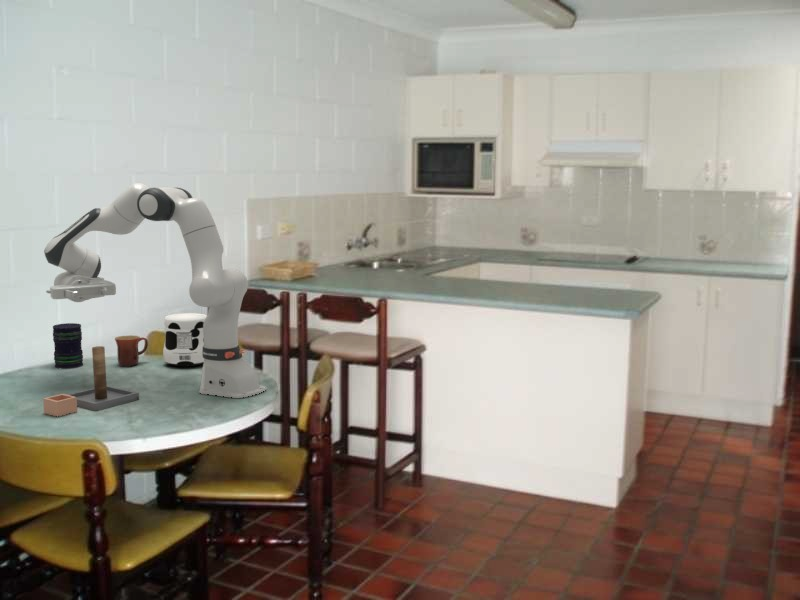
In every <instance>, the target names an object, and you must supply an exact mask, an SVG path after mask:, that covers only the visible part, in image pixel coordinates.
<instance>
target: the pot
mask: <svg viewBox="0 0 800 600" xmlns="http://www.w3.org/2000/svg"><path fill="white" fill-rule="evenodd" d="M42 401H43V402H42V403H43V414H45V415H48V416H49V415H50V416H52V415H53V417H56V416H57V418H58V416H59V417H62V415H63V416H66V414H67V415H70V414H69V413H71V414H74V412H75V413H78V406H77V397H74V396H70V395H67V394H66V393H61V394H56V395H52V396H48V397H45V398H44V397H43V398H42Z"/></svg>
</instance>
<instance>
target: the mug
mask: <svg viewBox="0 0 800 600" xmlns="http://www.w3.org/2000/svg"><path fill="white" fill-rule="evenodd" d="M142 340H144V347H143V348H142V350H140V351H139V343H140V342H141V341H142ZM114 341H115V343H116V346H117V356H116V357H117V364H118V365H119V366H120V367H124V366H129V367H135V366H137V365H138V364H139V358H140V356H141V355H142V354H144V353H146V351H147V349H148V346H149V341H148V339H147V338H146V337H140V336H139V335H120V336H119V335H118V336H116V337H114ZM134 365H135V366H134Z"/></svg>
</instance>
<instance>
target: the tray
mask: <svg viewBox="0 0 800 600" xmlns="http://www.w3.org/2000/svg"><path fill="white" fill-rule="evenodd" d="M66 395H70V396H74V397H77V408H78V407H79V408H83V409H86V410H91V411H95V412H96V411H101V410H104V409H108V408H112V407H115V406H119V405H123V404H127V403H130V402H134V401H138V400H140V396H139V395H140V393H139V392H137V391H134V390H129V389H124V388H119V387H115V386H111V385H107V398H105V399H95V390H94V387H92V388H89V389H84V390H80V391H76V392H72V393H68V394H66Z"/></svg>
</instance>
